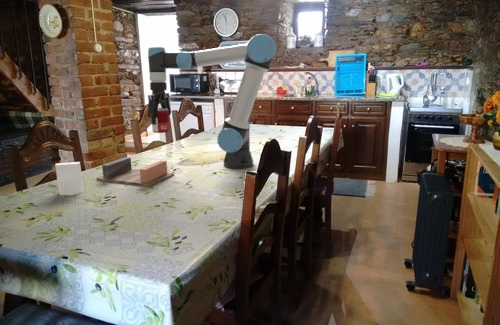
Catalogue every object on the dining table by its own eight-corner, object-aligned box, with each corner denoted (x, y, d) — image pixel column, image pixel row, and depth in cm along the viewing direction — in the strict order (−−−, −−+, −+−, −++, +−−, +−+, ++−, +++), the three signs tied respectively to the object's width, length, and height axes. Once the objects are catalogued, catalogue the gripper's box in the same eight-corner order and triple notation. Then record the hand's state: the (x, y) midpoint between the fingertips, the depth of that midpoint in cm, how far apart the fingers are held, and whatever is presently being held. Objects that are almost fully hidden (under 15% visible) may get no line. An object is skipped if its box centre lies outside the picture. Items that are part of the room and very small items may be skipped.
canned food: (171, 130, 183) (170, 107, 180) (165, 133, 175) (164, 109, 173) (156, 129, 184) (154, 107, 181) (150, 132, 176) (148, 109, 173)
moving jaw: (167, 172, 174) (166, 160, 172) (146, 182, 159) (145, 169, 158) (161, 172, 175) (160, 160, 173) (140, 182, 160) (139, 169, 159)
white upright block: (57, 196, 147) (52, 167, 144) (61, 189, 155) (57, 161, 152) (81, 194, 149) (78, 165, 146) (85, 187, 158) (81, 160, 155)
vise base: (174, 175, 174) (173, 160, 172) (151, 186, 158) (150, 171, 156) (123, 170, 184) (121, 156, 182) (96, 180, 167) (95, 165, 166)
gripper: (164, 80, 184) (166, 126, 190) (137, 82, 166) (140, 132, 171) (177, 81, 182) (179, 127, 187) (151, 82, 163) (154, 134, 169)
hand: (160, 129), depth 179 cm, fingers closed on canned food, 8 cm apart
